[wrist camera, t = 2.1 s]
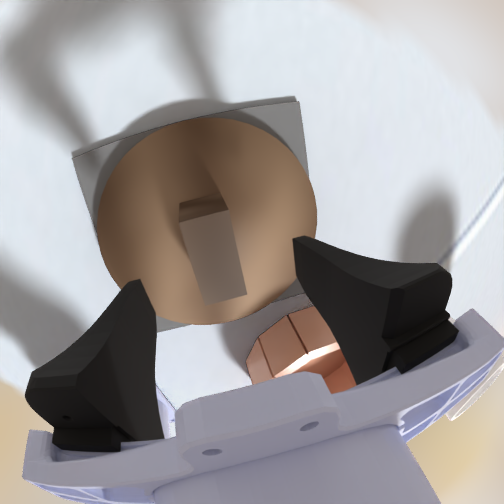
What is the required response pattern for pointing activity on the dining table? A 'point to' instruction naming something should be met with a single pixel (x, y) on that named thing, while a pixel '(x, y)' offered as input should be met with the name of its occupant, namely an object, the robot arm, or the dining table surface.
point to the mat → (263, 117)
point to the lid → (206, 219)
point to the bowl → (300, 351)
